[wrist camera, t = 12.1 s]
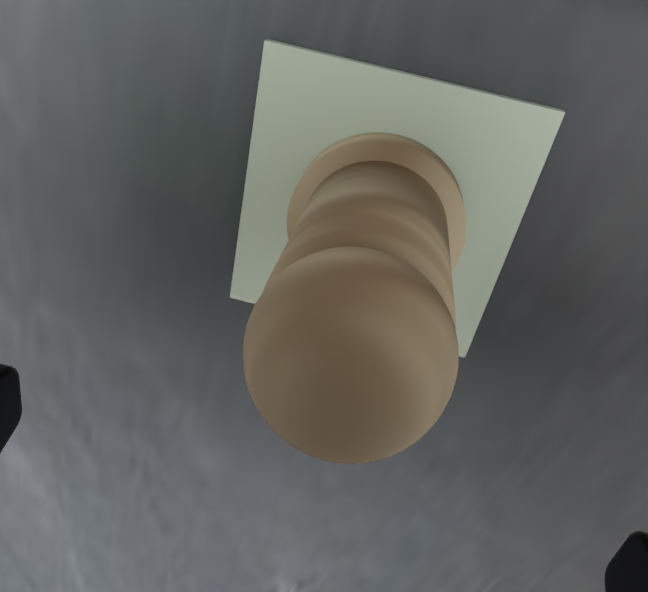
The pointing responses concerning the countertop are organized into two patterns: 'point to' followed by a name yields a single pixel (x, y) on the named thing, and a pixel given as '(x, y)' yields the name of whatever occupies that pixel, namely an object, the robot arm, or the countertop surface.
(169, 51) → the countertop surface
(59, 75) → the countertop surface
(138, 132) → the countertop surface
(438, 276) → the pawn
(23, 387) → the countertop surface
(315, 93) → the pad
